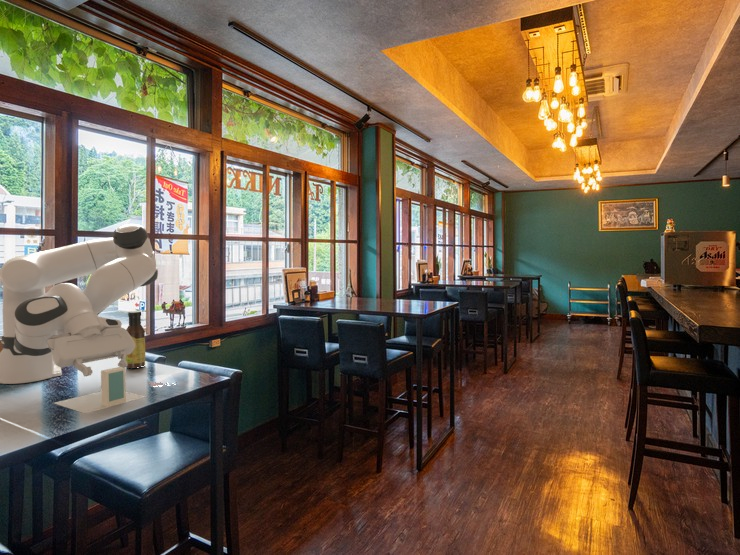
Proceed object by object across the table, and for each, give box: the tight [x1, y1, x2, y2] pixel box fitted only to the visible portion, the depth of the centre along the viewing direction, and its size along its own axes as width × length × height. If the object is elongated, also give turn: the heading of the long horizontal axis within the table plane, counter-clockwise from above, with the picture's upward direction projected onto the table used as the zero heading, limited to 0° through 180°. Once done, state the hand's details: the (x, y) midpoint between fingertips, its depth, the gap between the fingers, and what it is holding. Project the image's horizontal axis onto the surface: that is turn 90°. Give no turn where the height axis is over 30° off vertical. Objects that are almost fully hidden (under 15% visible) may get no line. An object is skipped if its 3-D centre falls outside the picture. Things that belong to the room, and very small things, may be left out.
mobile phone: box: [148, 381, 175, 388], centre depth 144 cm, size 8×1×15 cm
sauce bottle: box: [125, 310, 146, 369], centre depth 162 cm, size 6×6×20 cm
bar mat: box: [53, 391, 147, 415], centre depth 124 cm, size 16×16×1 cm
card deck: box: [100, 366, 127, 408], centre depth 121 cm, size 2×5×9 cm, turn 149°
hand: (107, 370), depth 123 cm, fingers open, 8 cm apart
